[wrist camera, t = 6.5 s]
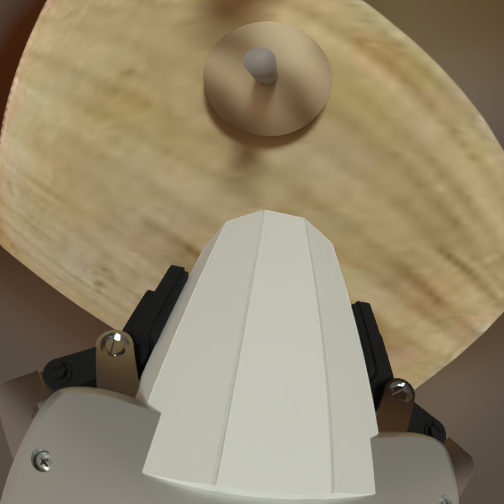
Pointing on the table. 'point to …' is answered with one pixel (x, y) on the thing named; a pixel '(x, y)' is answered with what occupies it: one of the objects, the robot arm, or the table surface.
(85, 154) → the table surface
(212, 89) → the roll stand
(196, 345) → the paper roll
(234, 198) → the table surface
